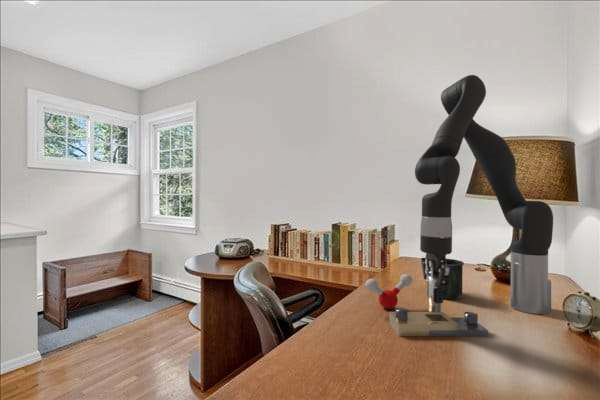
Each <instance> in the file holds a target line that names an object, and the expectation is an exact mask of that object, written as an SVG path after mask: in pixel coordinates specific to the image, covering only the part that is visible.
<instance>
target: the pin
mask: <svg viewBox="0 0 600 400" xmlns="http://www.w3.org/2000/svg"><path fill="white" fill-rule="evenodd" d="M428 275H429V294H428V293H427V295H428V296H427V298H428V302H427V305H428V307H427V310H428V312H436V313H439V312H442V303H434V302H433V288H434V287H433V279H432V278H431V271H428ZM435 276H439V274H435ZM437 280H438V279H437Z"/></svg>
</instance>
